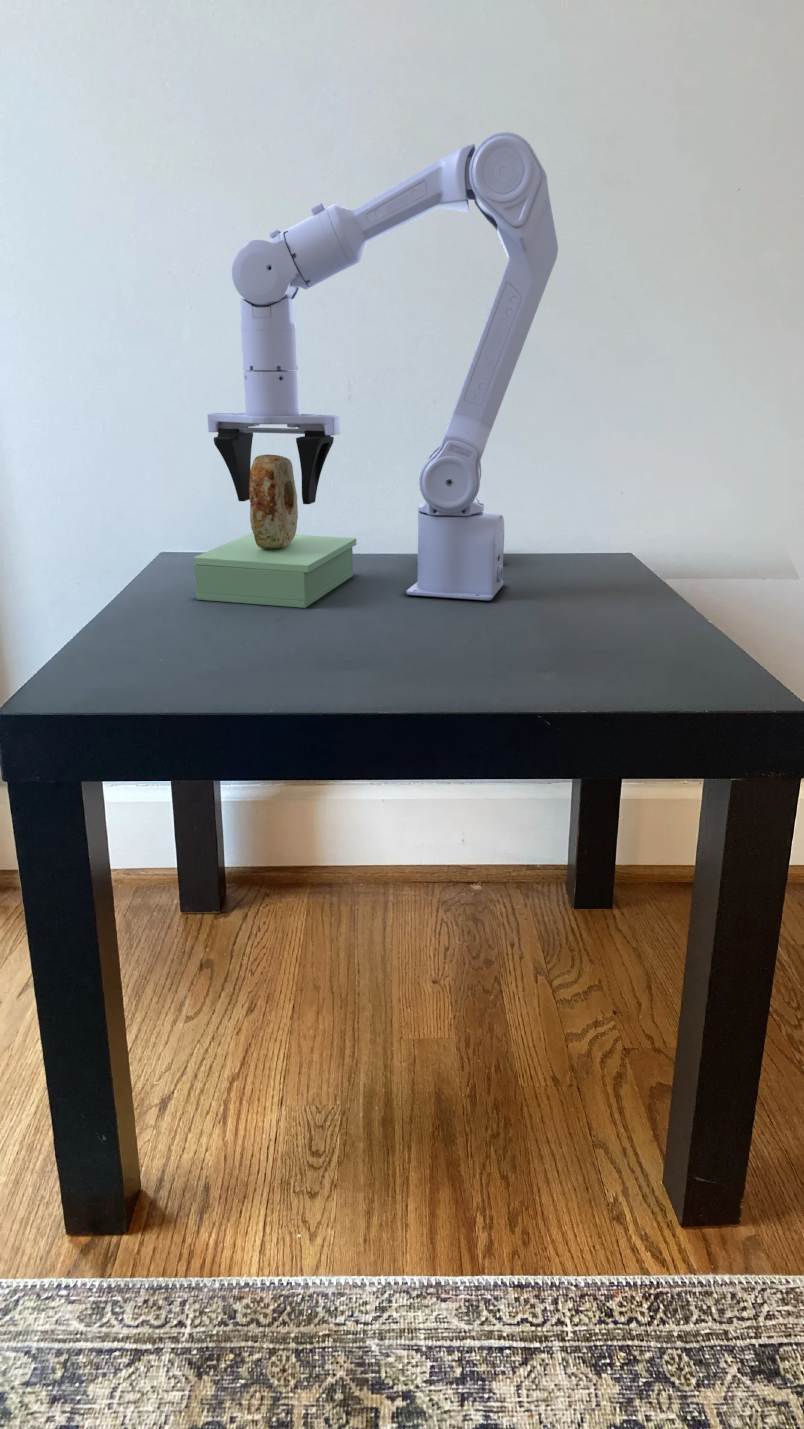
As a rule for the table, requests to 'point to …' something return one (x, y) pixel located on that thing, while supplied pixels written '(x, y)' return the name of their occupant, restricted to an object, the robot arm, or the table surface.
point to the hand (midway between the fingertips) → (276, 501)
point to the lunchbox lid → (277, 553)
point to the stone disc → (273, 501)
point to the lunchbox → (272, 583)
